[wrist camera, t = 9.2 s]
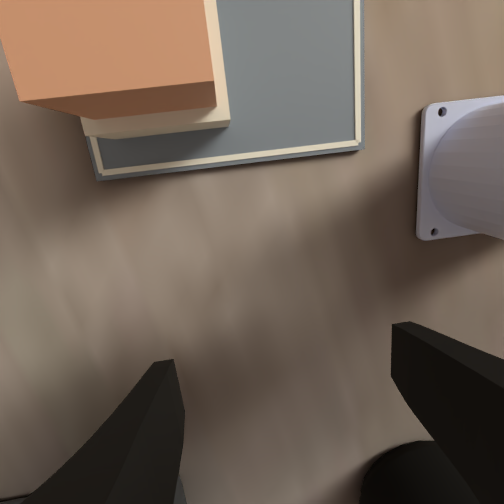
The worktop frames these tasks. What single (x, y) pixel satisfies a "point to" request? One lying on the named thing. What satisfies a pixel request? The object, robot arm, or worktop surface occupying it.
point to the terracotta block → (109, 55)
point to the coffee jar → (415, 478)
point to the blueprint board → (253, 94)
